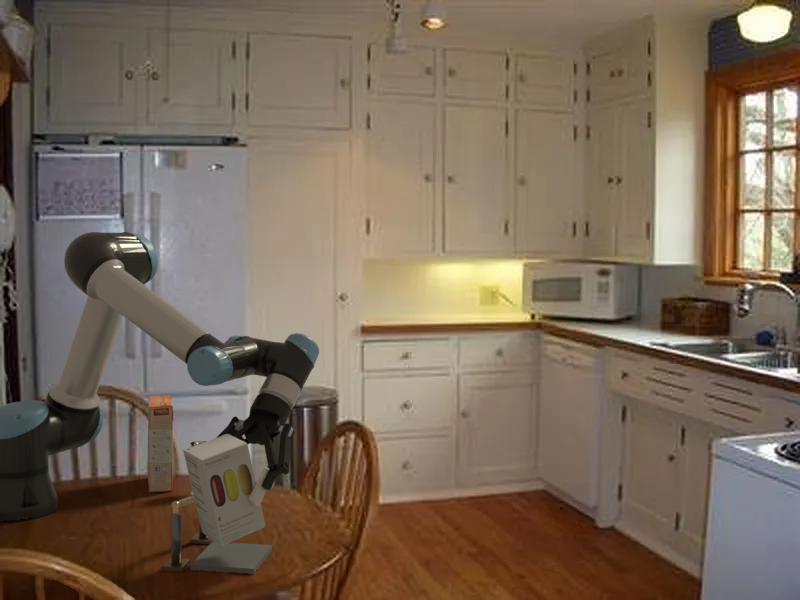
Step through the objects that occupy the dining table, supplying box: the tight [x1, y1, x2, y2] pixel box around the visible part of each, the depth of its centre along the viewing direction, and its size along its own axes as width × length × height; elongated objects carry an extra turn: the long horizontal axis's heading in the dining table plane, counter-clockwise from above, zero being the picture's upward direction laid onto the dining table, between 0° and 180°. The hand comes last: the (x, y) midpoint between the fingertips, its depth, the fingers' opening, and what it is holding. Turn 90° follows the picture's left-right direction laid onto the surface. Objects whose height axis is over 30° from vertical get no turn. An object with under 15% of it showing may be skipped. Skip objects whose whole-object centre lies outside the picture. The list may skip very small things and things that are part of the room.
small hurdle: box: [161, 495, 214, 573], centre depth 163 cm, size 6×18×10 cm, turn 173°
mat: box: [189, 541, 273, 575], centre depth 160 cm, size 12×12×1 cm
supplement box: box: [182, 434, 266, 546], centre depth 157 cm, size 10×9×17 cm
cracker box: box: [147, 395, 174, 493], centre depth 207 cm, size 14×6×21 cm, turn 17°
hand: (225, 498), depth 157 cm, fingers closed on supplement box, 12 cm apart
